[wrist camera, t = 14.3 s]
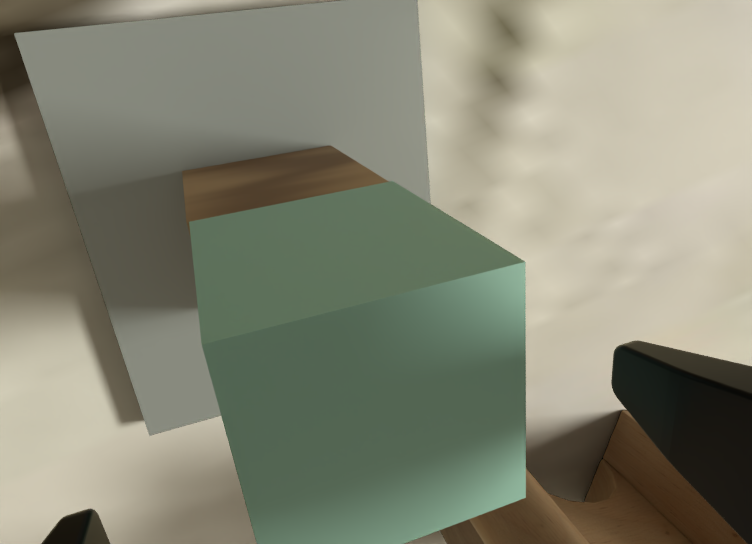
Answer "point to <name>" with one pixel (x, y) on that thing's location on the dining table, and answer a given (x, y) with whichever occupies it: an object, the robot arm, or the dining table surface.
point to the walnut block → (271, 181)
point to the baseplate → (211, 146)
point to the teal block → (364, 365)
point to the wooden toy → (607, 505)
